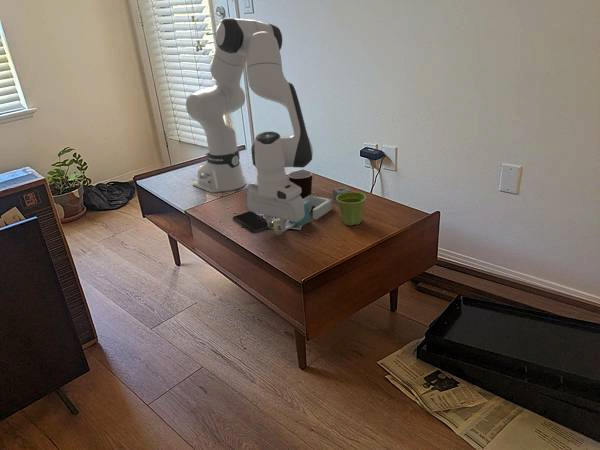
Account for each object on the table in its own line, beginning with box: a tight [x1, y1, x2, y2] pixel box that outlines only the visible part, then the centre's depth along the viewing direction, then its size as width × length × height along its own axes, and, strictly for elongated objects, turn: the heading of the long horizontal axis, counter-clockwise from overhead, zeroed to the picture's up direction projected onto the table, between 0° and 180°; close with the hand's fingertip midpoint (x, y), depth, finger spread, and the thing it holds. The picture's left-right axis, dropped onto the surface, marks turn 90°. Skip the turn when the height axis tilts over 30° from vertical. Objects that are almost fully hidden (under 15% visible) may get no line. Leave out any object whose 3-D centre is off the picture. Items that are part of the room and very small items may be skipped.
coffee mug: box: [288, 169, 313, 199], centre depth 177 cm, size 12×9×10 cm
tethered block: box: [272, 200, 311, 237], centre depth 156 cm, size 5×14×7 cm, turn 138°
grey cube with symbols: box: [332, 185, 353, 207], centre depth 172 cm, size 5×5×5 cm
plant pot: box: [336, 191, 367, 226], centre depth 156 cm, size 9×9×9 cm
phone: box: [232, 210, 271, 234], centre depth 163 cm, size 8×1×15 cm
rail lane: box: [303, 194, 333, 220], centre depth 167 cm, size 9×10×4 cm
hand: (276, 228), depth 152 cm, fingers closed on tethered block, 3 cm apart
